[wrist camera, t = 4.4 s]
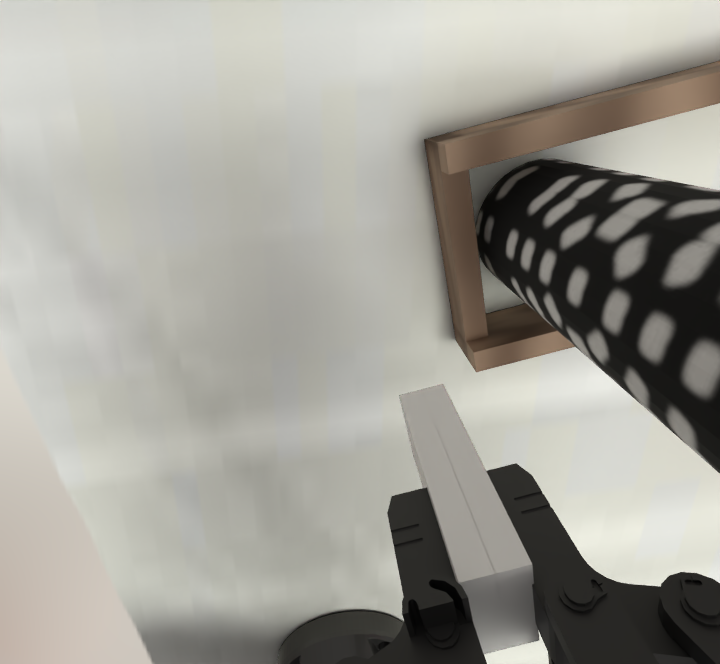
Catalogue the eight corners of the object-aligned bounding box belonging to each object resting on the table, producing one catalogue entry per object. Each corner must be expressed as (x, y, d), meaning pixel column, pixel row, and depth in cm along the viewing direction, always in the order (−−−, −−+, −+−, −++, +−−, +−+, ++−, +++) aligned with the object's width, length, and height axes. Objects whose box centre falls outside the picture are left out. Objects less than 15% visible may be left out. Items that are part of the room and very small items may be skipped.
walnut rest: (455, 340, 33) (476, 372, 29) (424, 139, 27) (444, 144, 23) (869, 232, 33) (948, 250, 28) (937, 3, 26) (1050, -17, 22)
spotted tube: (489, 153, 27) (830, 231, 10) (614, 163, 28) (1131, 251, 11) (464, 282, 31) (677, 513, 13) (576, 287, 32) (914, 507, 14)
